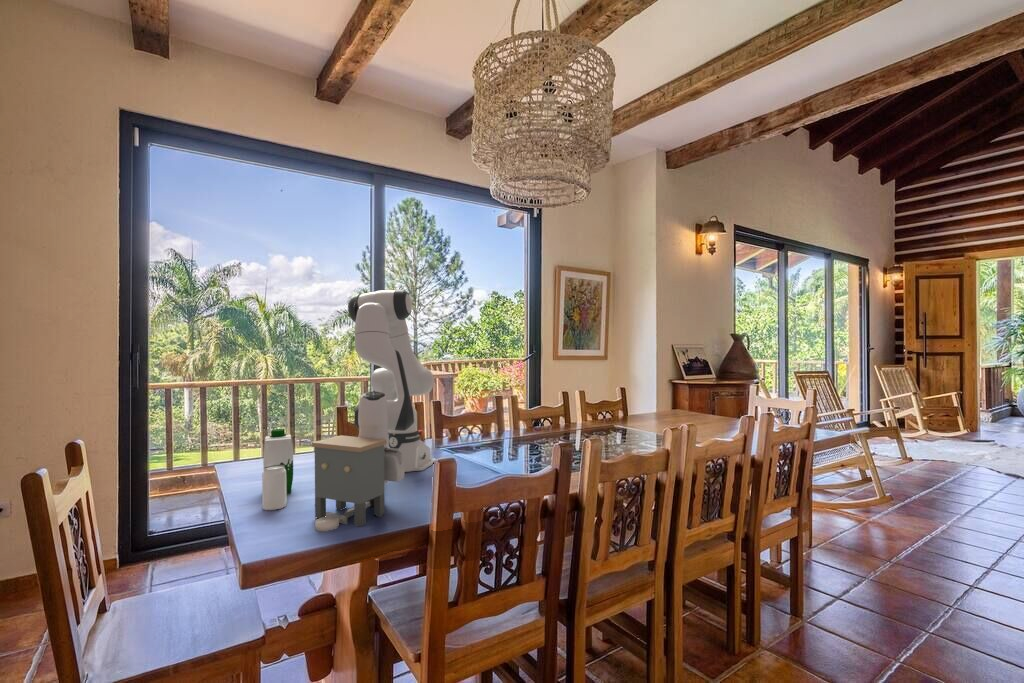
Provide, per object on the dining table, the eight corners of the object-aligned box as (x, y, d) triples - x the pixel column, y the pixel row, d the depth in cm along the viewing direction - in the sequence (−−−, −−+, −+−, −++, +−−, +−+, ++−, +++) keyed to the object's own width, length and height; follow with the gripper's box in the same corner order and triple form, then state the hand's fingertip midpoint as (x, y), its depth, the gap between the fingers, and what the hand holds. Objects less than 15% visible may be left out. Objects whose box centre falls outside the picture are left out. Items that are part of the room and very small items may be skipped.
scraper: (369, 499, 154) (368, 476, 154) (388, 502, 151) (387, 479, 151) (326, 521, 138) (325, 495, 137) (346, 524, 135) (345, 499, 135)
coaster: (333, 521, 138) (333, 514, 138) (342, 527, 133) (342, 520, 133) (311, 527, 134) (311, 519, 134) (320, 533, 129) (320, 526, 129)
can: (264, 512, 145) (264, 471, 145) (260, 506, 150) (260, 466, 150) (288, 508, 149) (288, 467, 148) (284, 502, 154) (283, 463, 154)
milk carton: (292, 486, 170) (292, 427, 170) (294, 494, 162) (293, 432, 161) (263, 490, 166) (263, 429, 166) (263, 498, 158) (262, 434, 158)
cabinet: (340, 506, 150) (340, 435, 150) (387, 514, 143) (386, 439, 143) (311, 518, 140) (311, 442, 139) (360, 527, 133) (359, 447, 133)
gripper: (408, 447, 149) (408, 493, 149) (354, 441, 157) (354, 485, 158) (395, 451, 143) (395, 500, 143) (340, 445, 152) (340, 491, 152)
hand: (373, 492), depth 151 cm, fingers closed on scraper, 3 cm apart
